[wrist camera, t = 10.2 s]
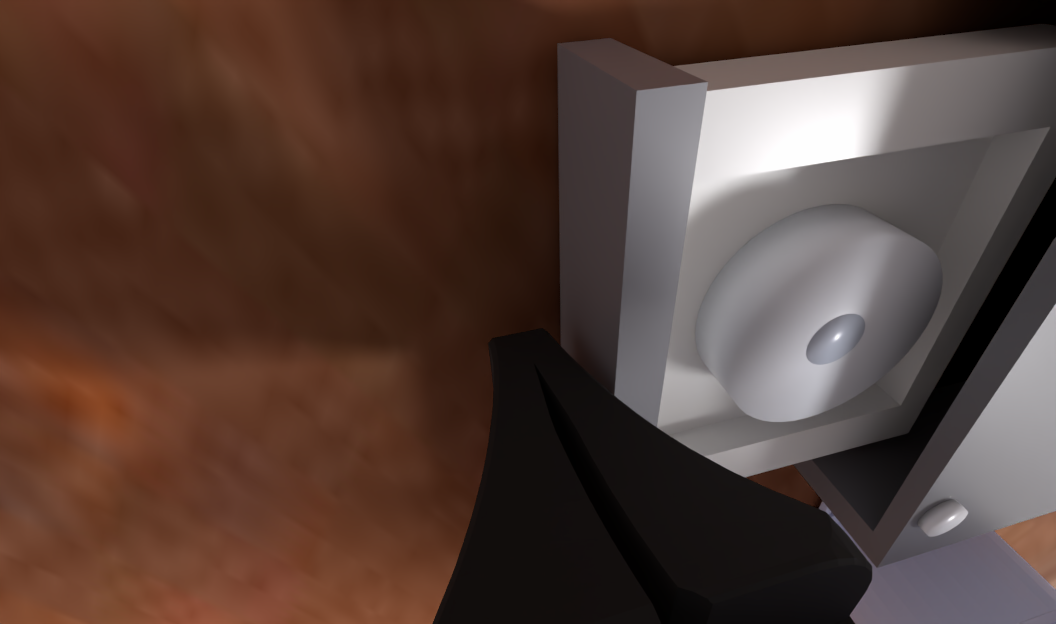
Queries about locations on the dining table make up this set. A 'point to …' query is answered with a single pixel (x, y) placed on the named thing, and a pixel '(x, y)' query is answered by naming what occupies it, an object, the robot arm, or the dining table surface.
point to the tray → (787, 206)
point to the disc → (816, 311)
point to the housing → (960, 447)
